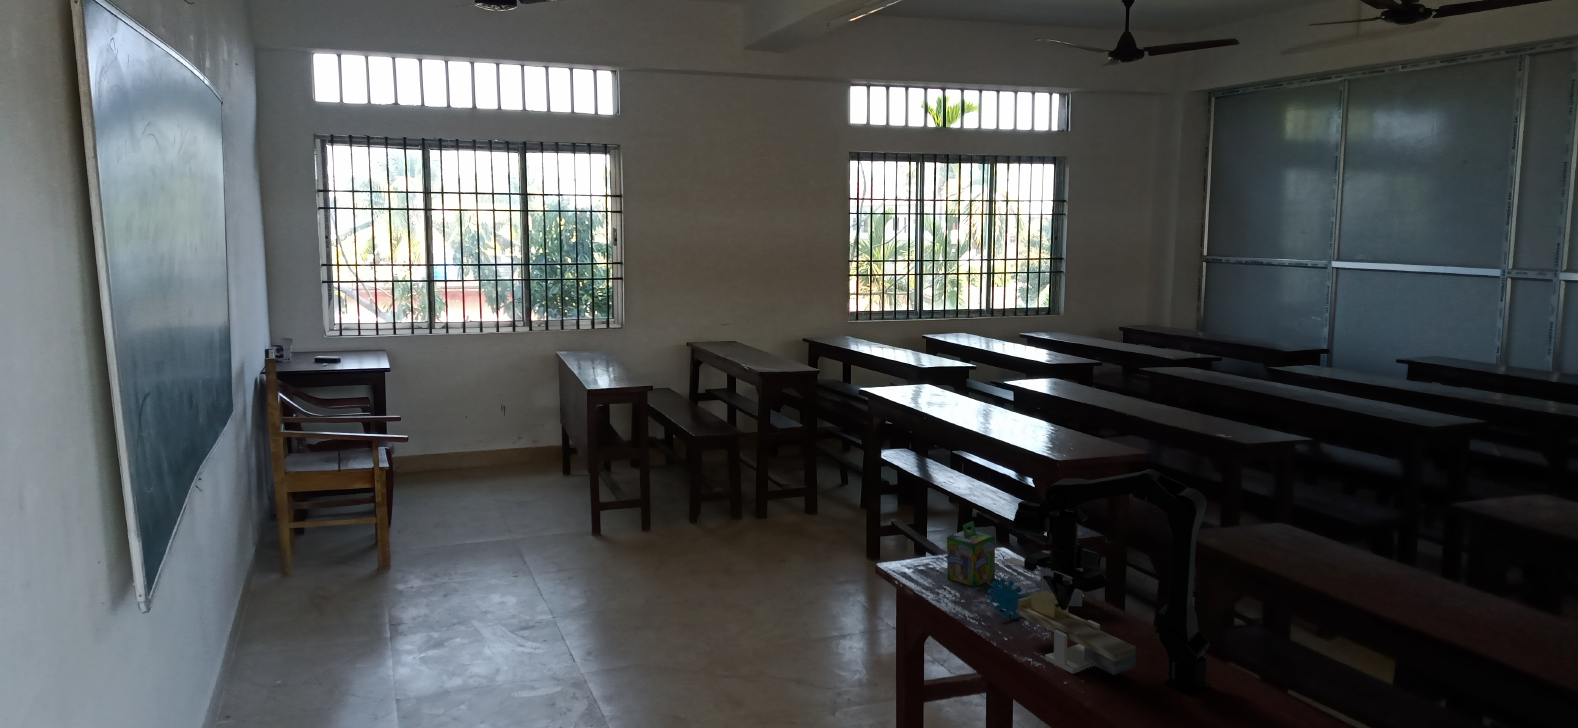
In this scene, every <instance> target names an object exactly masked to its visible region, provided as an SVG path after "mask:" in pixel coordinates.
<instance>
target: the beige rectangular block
mask: <svg viewBox="0 0 1578 728" xmlns="http://www.w3.org/2000/svg"><path fill="white" fill-rule="evenodd" d="M1030 596H1031V610H1032V611H1034V612H1036V613H1039V614H1041V615H1043V616H1045V617H1047V618H1049V619H1051V620H1054V621H1056V622H1057V621H1060V620H1064V619H1067V618H1068V613H1069V607H1068V608H1067V609H1066V610H1062V609H1061V608H1060V606H1059V604H1058V602H1057V600H1056V598H1055V596H1054V594H1052V593H1050V592H1047V591H1041V590H1040V591H1039V592H1035V593H1031V595H1030Z"/></svg>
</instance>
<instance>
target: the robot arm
mask: <svg viewBox="0 0 1578 728" xmlns="http://www.w3.org/2000/svg"><path fill="white" fill-rule="evenodd" d="M1141 493H1143V494H1144V495H1145V496H1147V497H1148V498H1149V499H1150V501H1152V502H1153V504H1154V505H1156V507H1158V508H1159V509H1160V510H1162V511H1163V512H1165V513H1166V517H1167V519H1166V520H1167V525H1168V528H1169V530H1170V533H1171V536H1172V537H1171V538H1172V539H1171V540H1172V542H1171V556H1170V557H1171V559H1170V561H1171V562H1170V575H1169V576H1170V577H1169V578H1170V579H1169V592H1168V603H1166V604H1165V605H1164V606H1163V607H1162V608H1161V609H1160V610H1159V611H1158V612H1157V615H1156V616H1157V617H1156V620H1157V629H1156V630H1155V634H1158V639H1159V643H1160V644H1161V645H1162V646H1163V647H1164V648H1165V650H1166V655H1167V656H1168V665H1167V666H1168V667H1167V671H1168V672H1167V677H1168V678H1165V679H1164V680H1163V683H1164V684H1166V685H1167V686H1169V687H1172V688H1173V689H1175V690H1178V691H1180V692H1182V693H1184V694H1186V695H1189V696H1191V695H1194V694H1196V693H1197V694H1198V693H1199V692H1202V691H1204V690H1207V689H1209V688H1210V689H1211V688H1212V684H1211V683H1209V682H1207V661H1208V660H1207V659H1206V658H1205V657H1204V656H1203V655H1204V654H1205V653H1206V652H1207V651H1208V649H1209V647H1210V645H1211V644H1210V643H1211V642H1210V641H1209V640H1208V638H1206V636H1204V634H1203V633H1202V631H1201V630H1200V629H1199V624H1198V615H1197V613H1196V610H1195V607H1194V604H1193V600H1194V599H1193V597H1194V582H1195V581H1194V580H1195V579H1194V578H1195V565H1196V552H1197V551H1196V549H1197V536H1198V533H1199V531H1200V527H1201V525H1202V523H1203V521H1204V516H1205V513H1206V510H1207V499H1206V496H1204V494H1203V493H1202V492H1201V491H1200V490H1199V489H1196V488H1193V487H1188V486H1186V485H1185V484H1184V483H1182V482H1180V481H1178V480H1175V479H1172V478H1170V477H1168V476H1166V475H1164V474H1162V473H1161V472H1159V471H1157V470H1155V469H1152V468H1148V469H1147V468H1146V469H1145V470H1143V471H1135V472H1130V473H1125V474H1119V475H1115V476H1107V477H1103V478H1101V477H1100V478H1096V479H1086V478H1085V479H1084V478H1081V477H1080V478H1079V477H1078V478H1077V477H1076V478H1073V477H1072V478H1069V477H1067V478H1063V479H1060V480H1059V481H1056V482H1055V483H1053V484H1051V485H1050V486H1049V487H1048V488H1047V489H1046V491H1045V498H1044V499H1043V501H1042V502H1041V503H1033V502H1029V501H1027V500H1020V501H1019V502H1018V503H1017V509H1016V511H1015V514H1014V518H1013V519H1012V520H1013V521H1012V523H1013V524H1012V525H1013V529H1014V531H1016V532H1017V533H1021V534H1027V535H1032V536H1033V535H1034V536H1040V537H1043V536H1044V535H1045V534H1046V533H1048V532H1049V542H1046V543H1045V548H1046V549H1048V550H1049V551H1050V554H1048V553H1045V552H1041V551H1040V552H1038V551H1037V552H1035V553H1031V554H1027V555H1026V557H1025V558H1024V560H1023V562H1024V563H1023V564H1024V565H1023V568H1024V569H1025V570H1028V571H1030V572H1035V571H1036V570H1037V568H1038V567H1040V568H1041V567H1043V568H1044V569H1045V570H1046V576H1043V579H1044V580H1046V582H1047V584H1048V585H1049V587H1050V589H1051V590H1052V592H1053V594H1054V596H1055V598H1056V600H1057V602H1058V604H1059V606H1060V608H1061V609H1062V610H1066V609H1067V608H1068V609H1069V606H1068V605H1069V602H1070V600H1071V597H1072V595H1073V592H1074V590H1075V588H1076V589H1078V590H1081V591H1083V592H1084V593H1089V592H1092V591H1097V590H1101V589H1103V588H1106V587H1107V577H1106V575H1105V574H1103V573H1102V572H1100V571H1096V570H1095V569H1096V568H1097V565H1098V561H1099V557H1100V553H1099V552H1096V551H1093V550H1090V549H1088V548H1084V546H1083V544H1082V543H1080V542H1079V539H1078V537H1079V534H1078V533H1079V532H1078V531H1079V529H1078V527H1079V526H1078V525H1079V524H1082V523H1083V522H1084V521H1086V520H1088V519H1089V516H1088V515H1087V514H1086V513H1084V512H1083V511H1082V509H1081V508H1080V507H1079V508H1077V509H1075V510H1070V509H1072V508H1075V507H1077V506H1081V505H1083V504H1085V503H1087V502H1091V501H1094V500H1095V501H1096V500H1101V499H1102V500H1103V499H1108V498H1113V497H1114V498H1115V497H1120V496H1127V495H1134V494H1141ZM1055 511H1056V512H1055ZM1086 566H1090V567H1092V568H1095V569H1091V568H1090V569H1087V570H1083V571H1080V570H1077V568H1083V569H1084V568H1085V567H1086ZM1083 592H1082V593H1083Z"/></svg>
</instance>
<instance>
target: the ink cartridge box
mask: <svg viewBox="0 0 1578 728" xmlns="http://www.w3.org/2000/svg"><path fill="white" fill-rule="evenodd" d="M1040 552H1045V553H1048V554H1050V550H1040ZM1077 570H1080V571H1084V568H1077ZM1043 576H1046V570H1045V569H1044V568H1043V567H1040V592H1041V591H1047V592H1050V593H1052V594H1053V592H1052V590H1051V589H1050V587H1049V585H1048V584H1047V582H1046V580H1044V579H1043ZM1068 607H1083V591H1081V590H1078V589H1076V588H1075V590H1074V592H1073V595H1072V597H1071V600H1070V602H1069V605H1068Z"/></svg>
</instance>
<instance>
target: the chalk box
mask: <svg viewBox="0 0 1578 728" xmlns="http://www.w3.org/2000/svg"><path fill="white" fill-rule="evenodd" d="M968 528H970V529H968ZM946 551H947V553H946V559H947V560H946V561H947V563H946V566H947V569H946V570H947V580H949V581H953V582H956V583H959V584H963V585H966V586H970V587H974V588H976V587H978V586H980V585H983V584H985V583H987V582H989V581H990V582H991V581H992V580H994V579H995V578H996V537H995V536H993V535H990V534H986V533H985V532H981V531H977V529H976V527H975V523H974V521H973V520H972V521H970V522H969V521H968V522H967V523H966V522H965V523H964V524H963V525H962V531H961V530H960V531H958V532H955V533H953V534H951V535H948V536H946Z"/></svg>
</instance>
